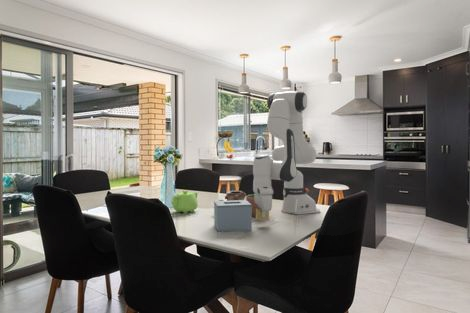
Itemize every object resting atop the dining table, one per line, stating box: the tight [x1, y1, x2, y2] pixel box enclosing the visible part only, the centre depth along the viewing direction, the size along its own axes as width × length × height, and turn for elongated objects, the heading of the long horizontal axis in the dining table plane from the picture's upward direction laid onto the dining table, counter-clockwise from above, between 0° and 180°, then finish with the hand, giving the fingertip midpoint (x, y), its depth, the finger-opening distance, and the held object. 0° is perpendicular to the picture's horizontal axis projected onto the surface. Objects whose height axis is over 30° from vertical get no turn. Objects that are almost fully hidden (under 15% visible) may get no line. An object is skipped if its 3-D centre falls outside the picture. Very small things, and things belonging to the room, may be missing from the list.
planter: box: [245, 194, 259, 218], centre depth 177 cm, size 12×12×11 cm
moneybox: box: [213, 199, 253, 233], centre depth 152 cm, size 16×12×12 cm
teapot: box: [171, 190, 199, 215], centre depth 188 cm, size 20×13×13 cm
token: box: [255, 209, 270, 221], centre depth 156 cm, size 6×2×5 cm, turn 100°
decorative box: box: [224, 190, 247, 201], centre depth 203 cm, size 13×20×10 cm, turn 154°
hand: (262, 215), depth 156 cm, fingers closed on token, 2 cm apart
